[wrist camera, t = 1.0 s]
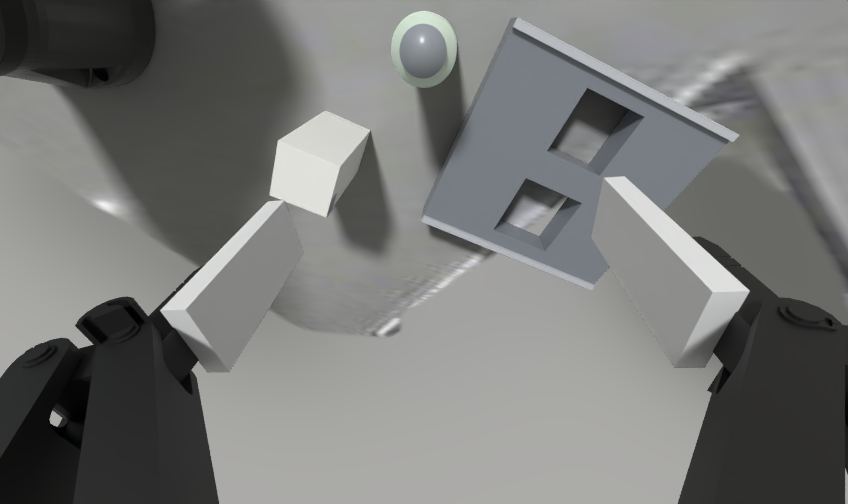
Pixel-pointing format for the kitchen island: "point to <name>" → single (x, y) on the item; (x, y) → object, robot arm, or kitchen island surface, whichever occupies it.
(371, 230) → the kitchen island surface
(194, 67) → the kitchen island surface
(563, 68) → the grey socket board
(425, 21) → the peg
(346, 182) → the block
